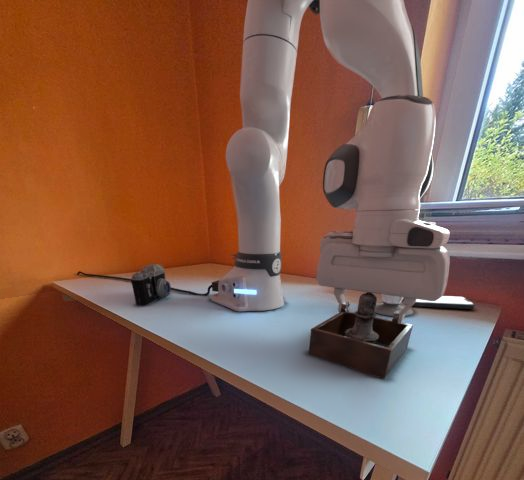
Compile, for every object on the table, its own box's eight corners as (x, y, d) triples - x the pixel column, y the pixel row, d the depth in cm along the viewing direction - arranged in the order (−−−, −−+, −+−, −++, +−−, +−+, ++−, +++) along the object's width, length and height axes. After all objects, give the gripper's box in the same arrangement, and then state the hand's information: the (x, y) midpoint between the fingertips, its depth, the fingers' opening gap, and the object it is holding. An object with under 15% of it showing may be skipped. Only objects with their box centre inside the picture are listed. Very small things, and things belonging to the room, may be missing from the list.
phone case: (410, 307, 76) (475, 310, 73) (411, 301, 76) (477, 304, 72) (403, 299, 84) (462, 301, 81) (404, 293, 83) (463, 296, 80)
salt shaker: (353, 360, 48) (365, 293, 43) (336, 346, 53) (345, 285, 48) (382, 356, 49) (396, 291, 44) (363, 343, 54) (374, 283, 49)
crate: (308, 353, 50) (310, 328, 48) (340, 331, 60) (343, 310, 57) (384, 379, 43) (391, 350, 40) (406, 349, 52) (413, 324, 50)
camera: (155, 307, 76) (149, 270, 71) (133, 305, 77) (125, 269, 72) (178, 293, 89) (174, 261, 84) (159, 292, 90) (153, 261, 85)
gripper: (313, 232, 46) (308, 311, 52) (458, 234, 34) (430, 335, 40) (329, 230, 50) (323, 303, 56) (462, 232, 39) (437, 323, 45)
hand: (368, 316), depth 48 cm, fingers open, 8 cm apart
